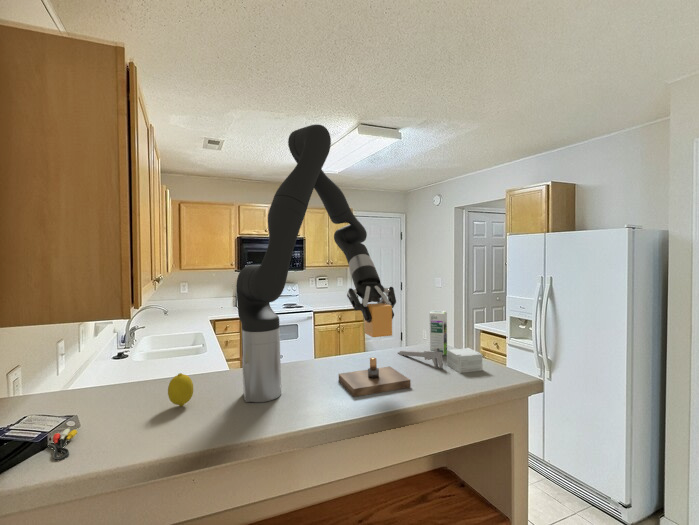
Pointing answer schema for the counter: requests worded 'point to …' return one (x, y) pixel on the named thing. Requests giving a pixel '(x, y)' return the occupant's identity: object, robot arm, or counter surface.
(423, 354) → the caliper
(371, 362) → the grey and tan knob
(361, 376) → the board
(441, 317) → the syrup box
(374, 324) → the orange rectangular block
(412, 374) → the counter surface
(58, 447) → the composite cable
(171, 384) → the lemon
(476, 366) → the small box
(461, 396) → the counter surface
